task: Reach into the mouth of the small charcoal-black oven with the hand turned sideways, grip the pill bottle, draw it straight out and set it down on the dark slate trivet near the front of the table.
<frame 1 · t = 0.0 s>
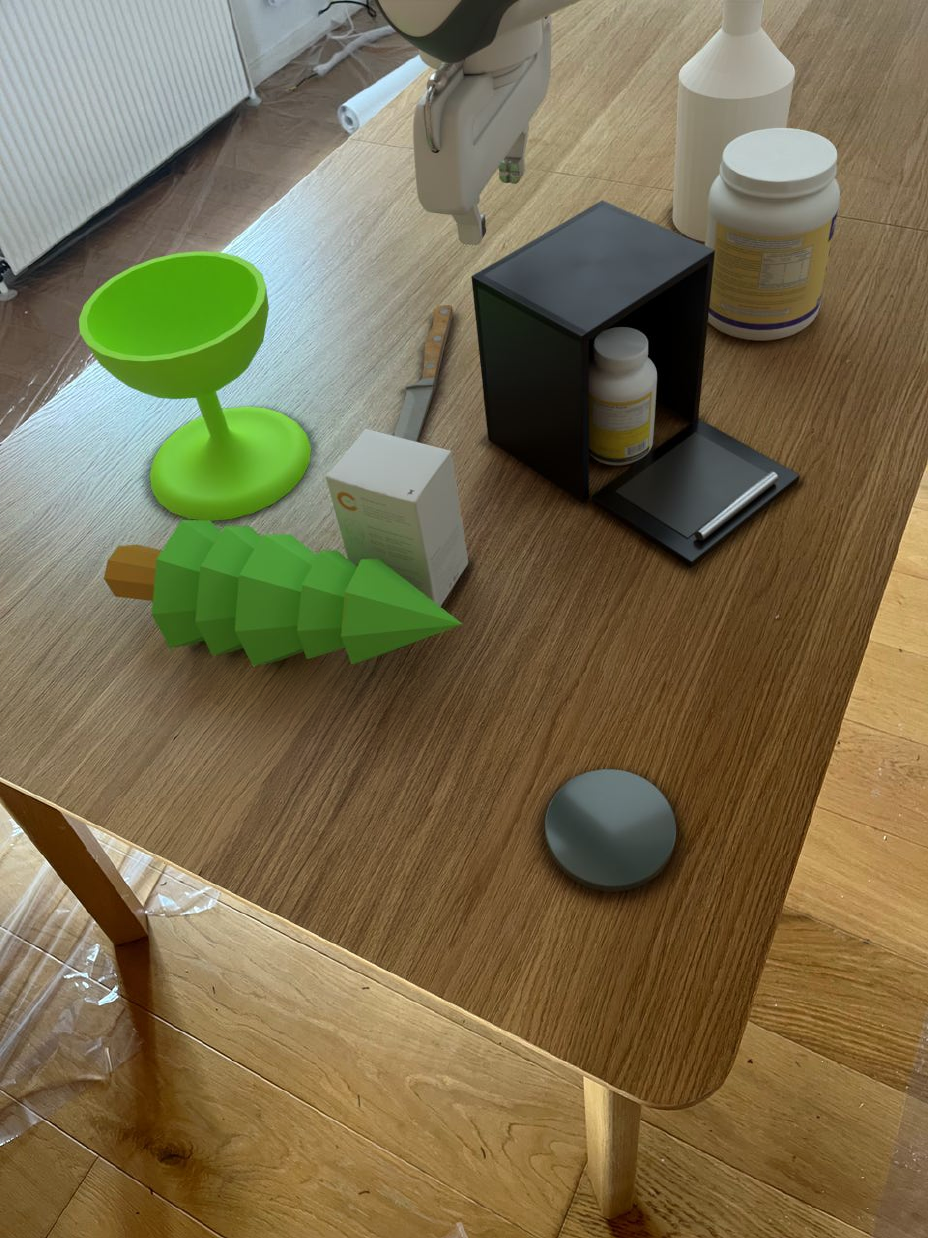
hand: (493, 208, 82), 23 cm above the table, tool pointing down, fingers open, 8 cm apart
supplement tub: (757, 312, 108), on the table
bottle: (721, 218, 120), on the table
decorative tree: (294, 646, 85), on the table
trivet: (609, 831, 71), on the table
oven: (595, 431, 98), on the table
knife: (417, 406, 103), on the table
pill bottle: (618, 447, 97), resting in oven
wineglass: (231, 464, 100), on the table
small box: (412, 577, 89), on the table
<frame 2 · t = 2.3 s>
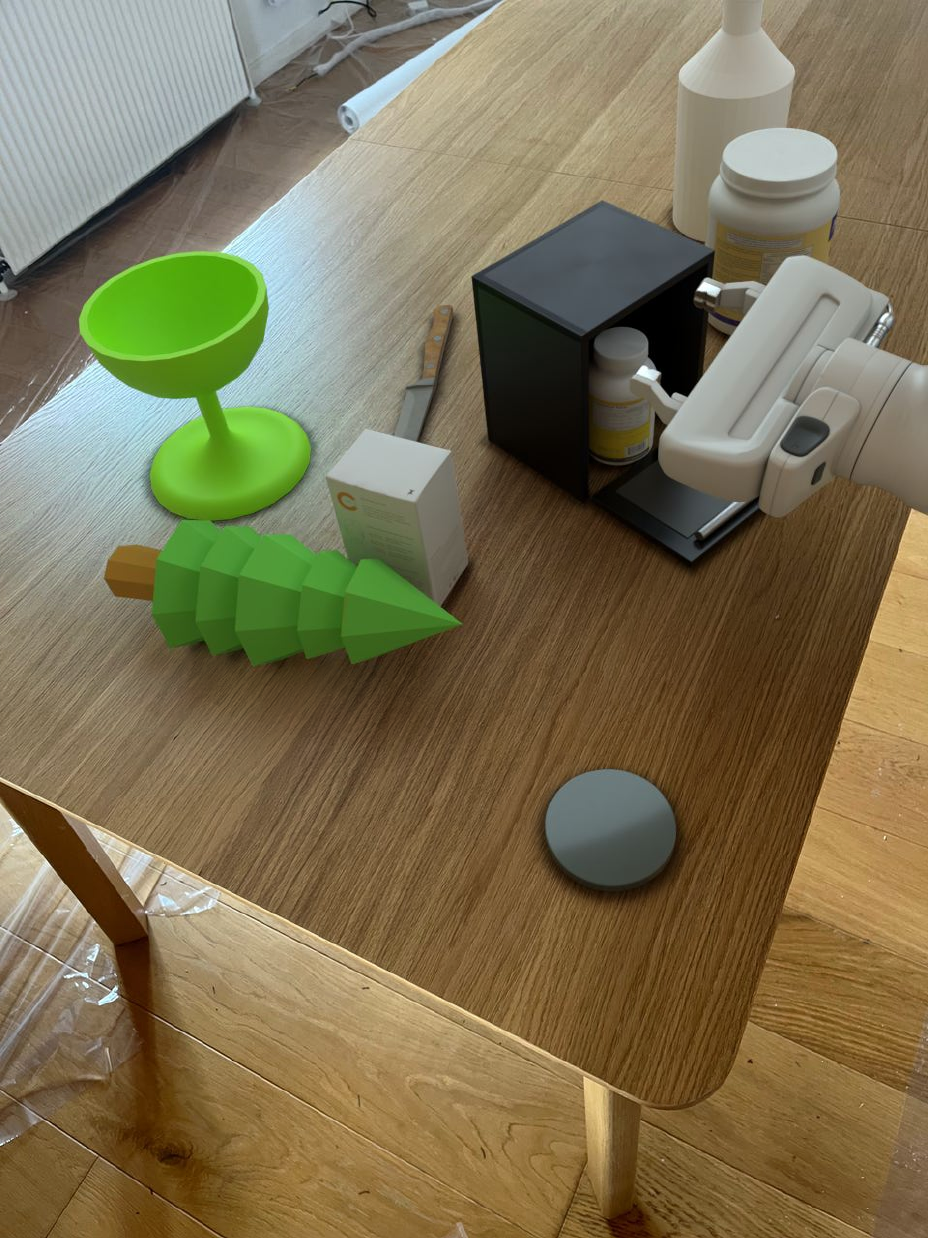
hand: (666, 333, 76), 18 cm above the table, tool horizontal, fingers open, 8 cm apart
nothing on the table moved.
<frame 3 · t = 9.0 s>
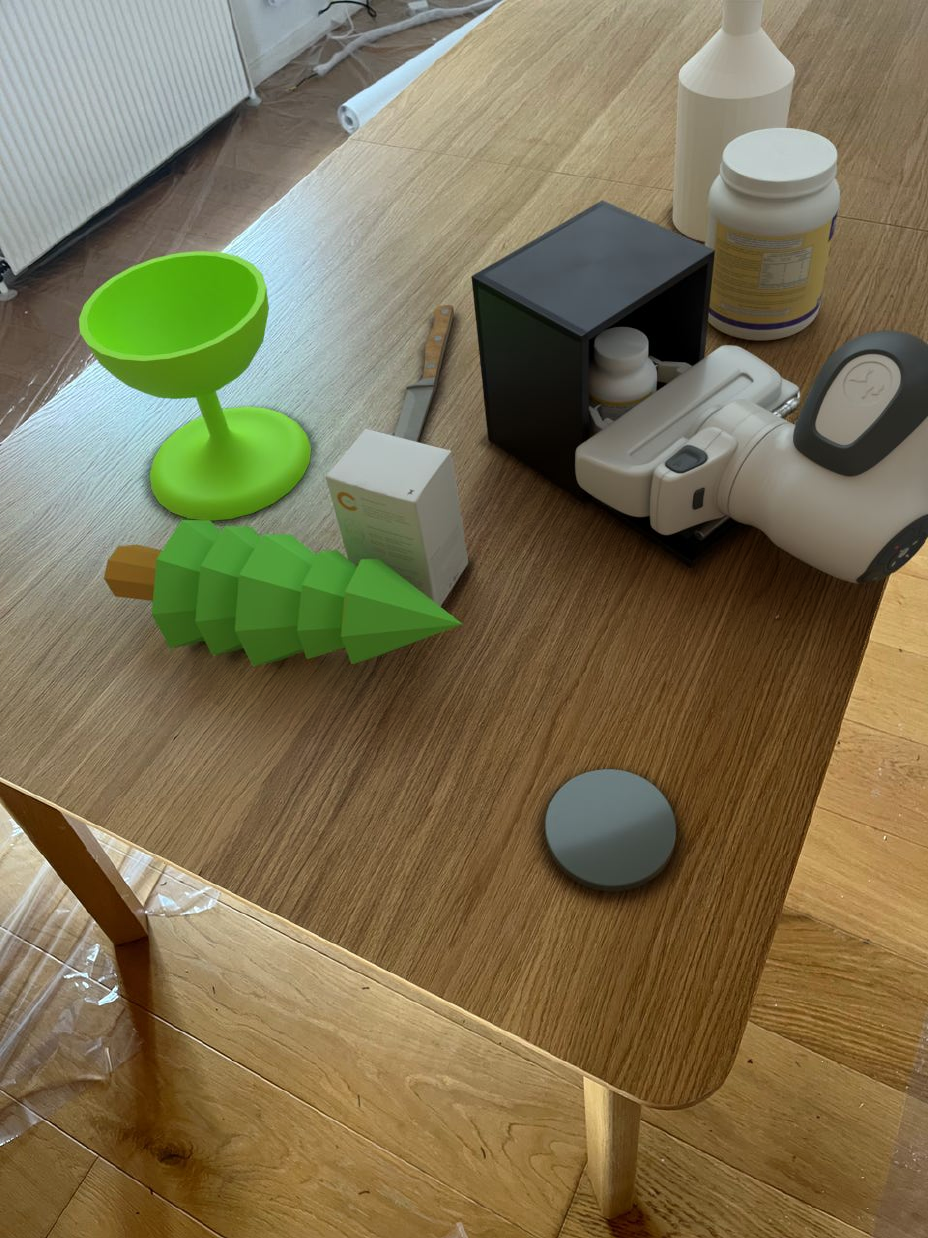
hand: (611, 386, 92), 7 cm above the table, tool horizontal, fingers closed on pill bottle, 6 cm apart
pill bottle: (618, 447, 97), resting in oven, touching gripper
everything else where it was.
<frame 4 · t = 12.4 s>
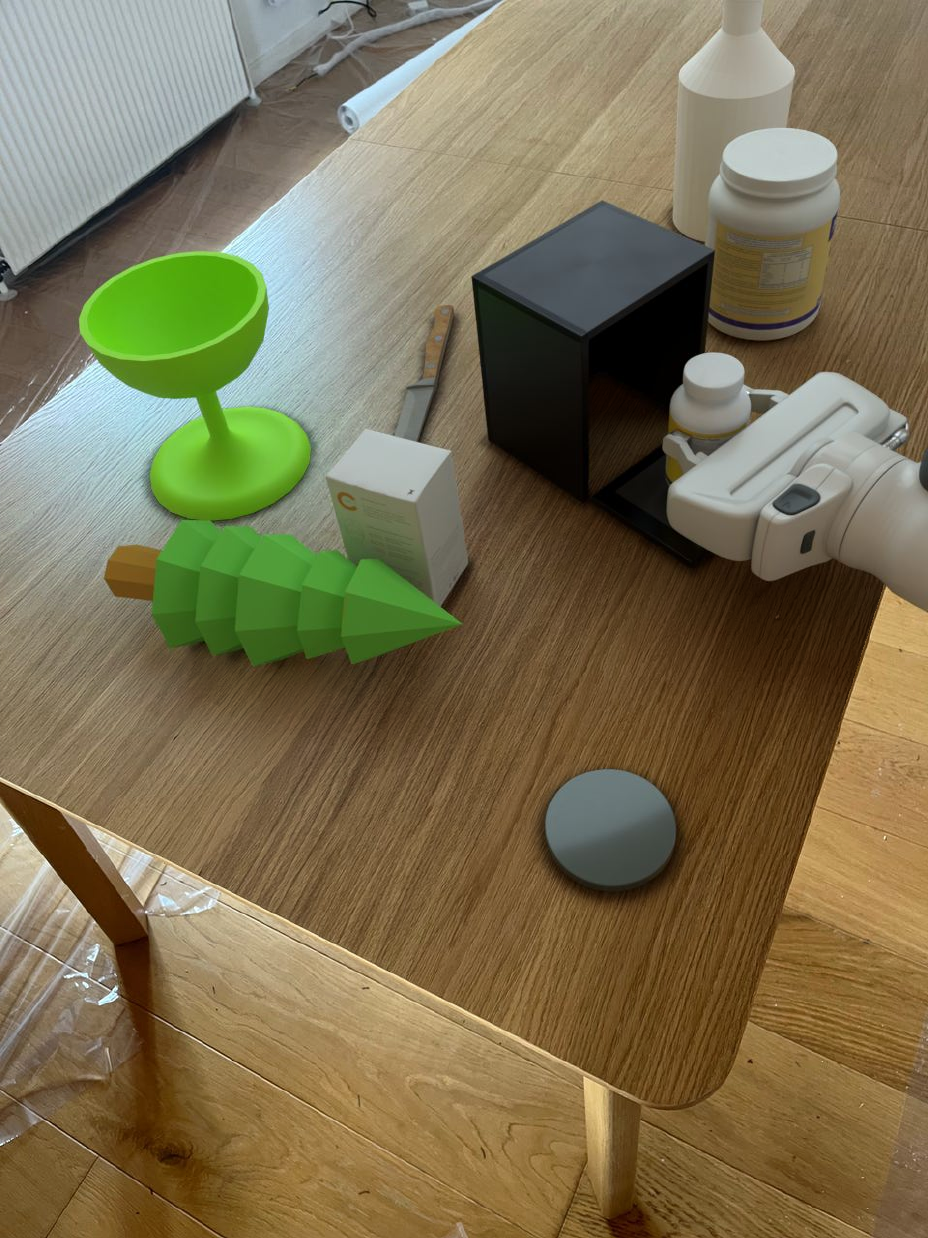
hand: (699, 416, 85), 9 cm above the table, tool horizontal, fingers closed on pill bottle, 6 cm apart
pill bottle: (702, 481, 89), point 2 cm above the table, touching gripper
everything else where it was.
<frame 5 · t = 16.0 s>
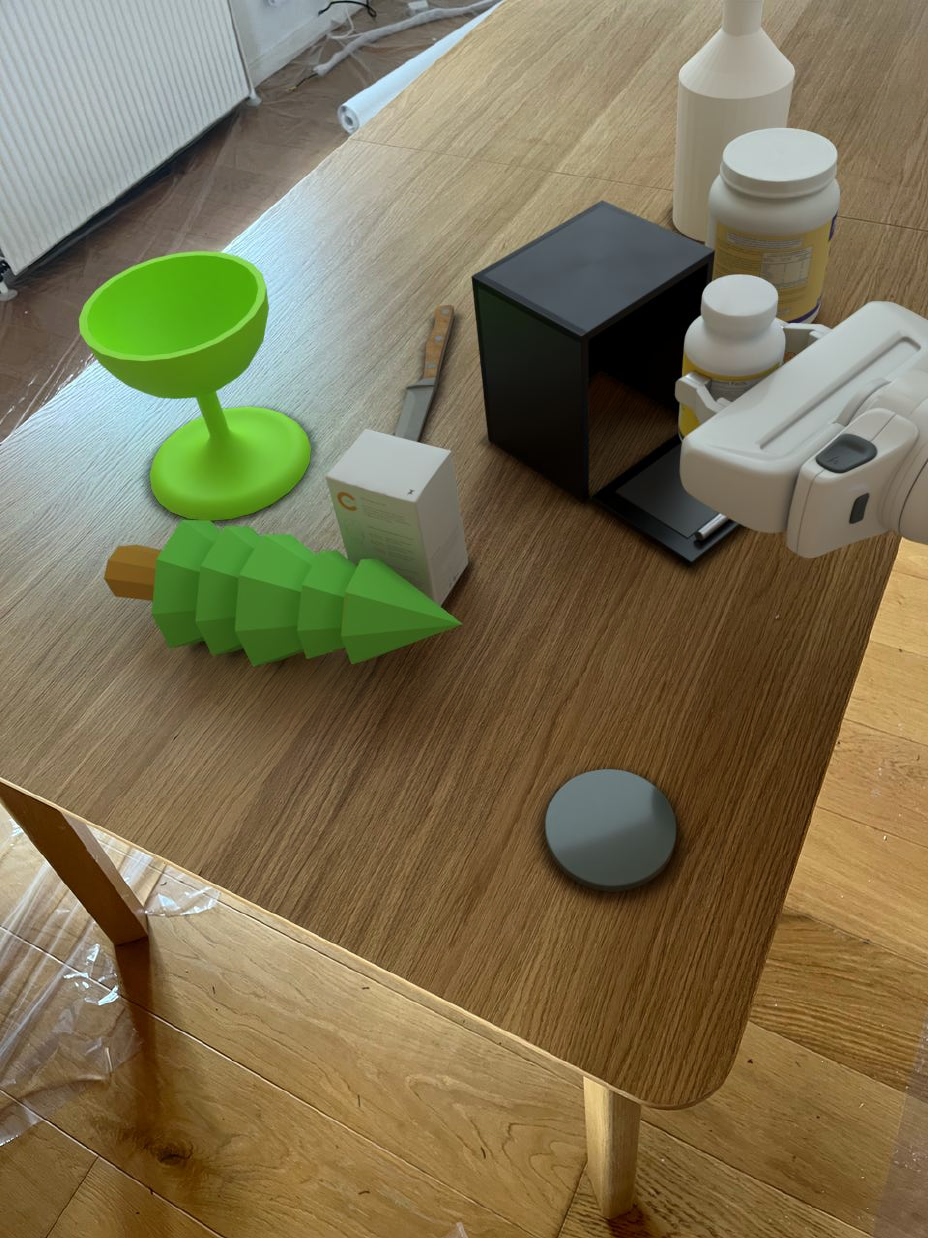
hand: (721, 356, 69), 22 cm above the table, tool horizontal, fingers closed on pill bottle, 6 cm apart
pill bottle: (722, 438, 73), point 15 cm above the table, touching gripper
everything else where it was.
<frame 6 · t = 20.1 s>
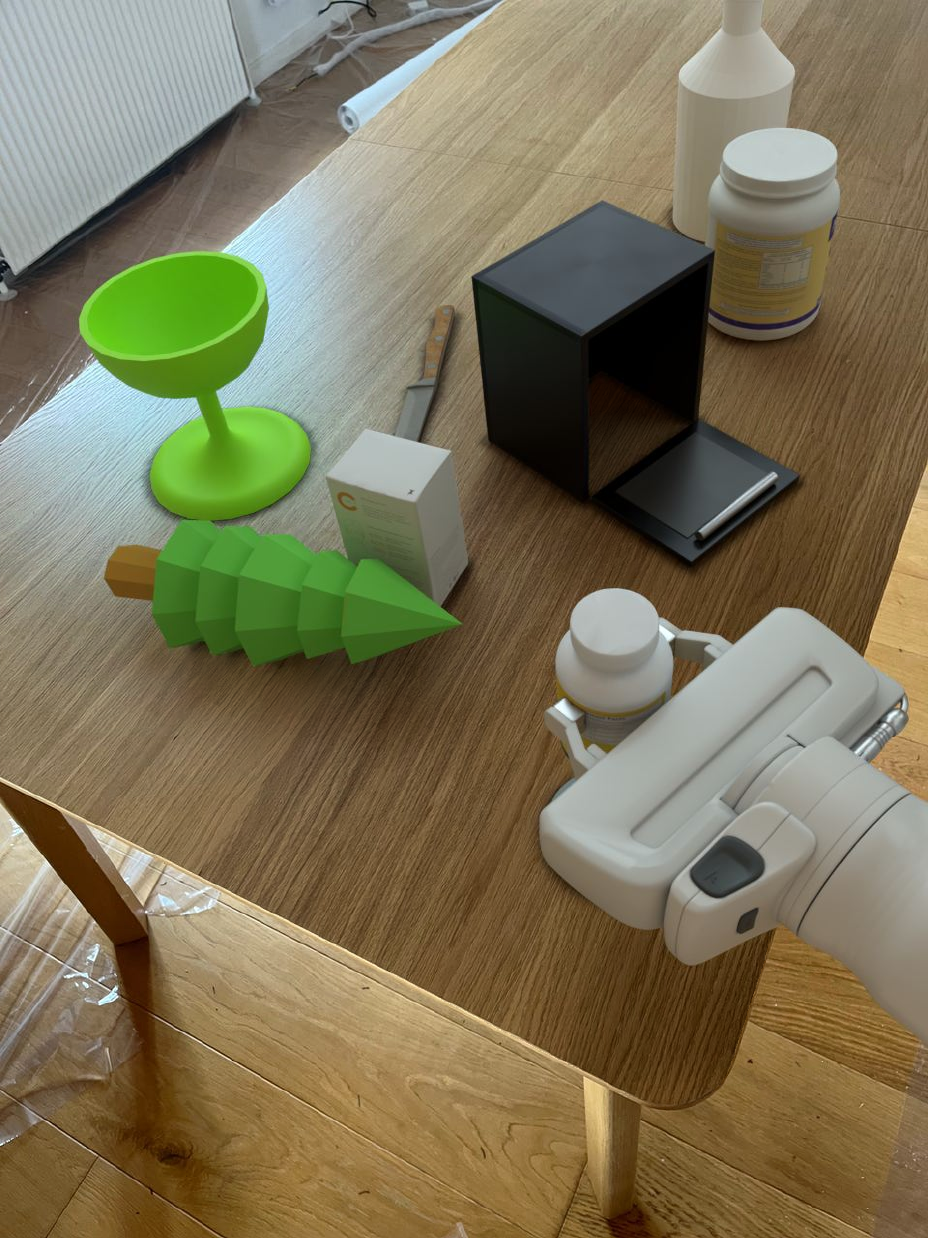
hand: (601, 670, 58), 18 cm above the table, tool horizontal, fingers closed on pill bottle, 6 cm apart
pill bottle: (612, 742, 63), point 11 cm above the table, touching gripper
everything else where it was.
when the fingers open (8 cm above the table, at t = 23.5 s): pill bottle stays where it is, resting on trivet.
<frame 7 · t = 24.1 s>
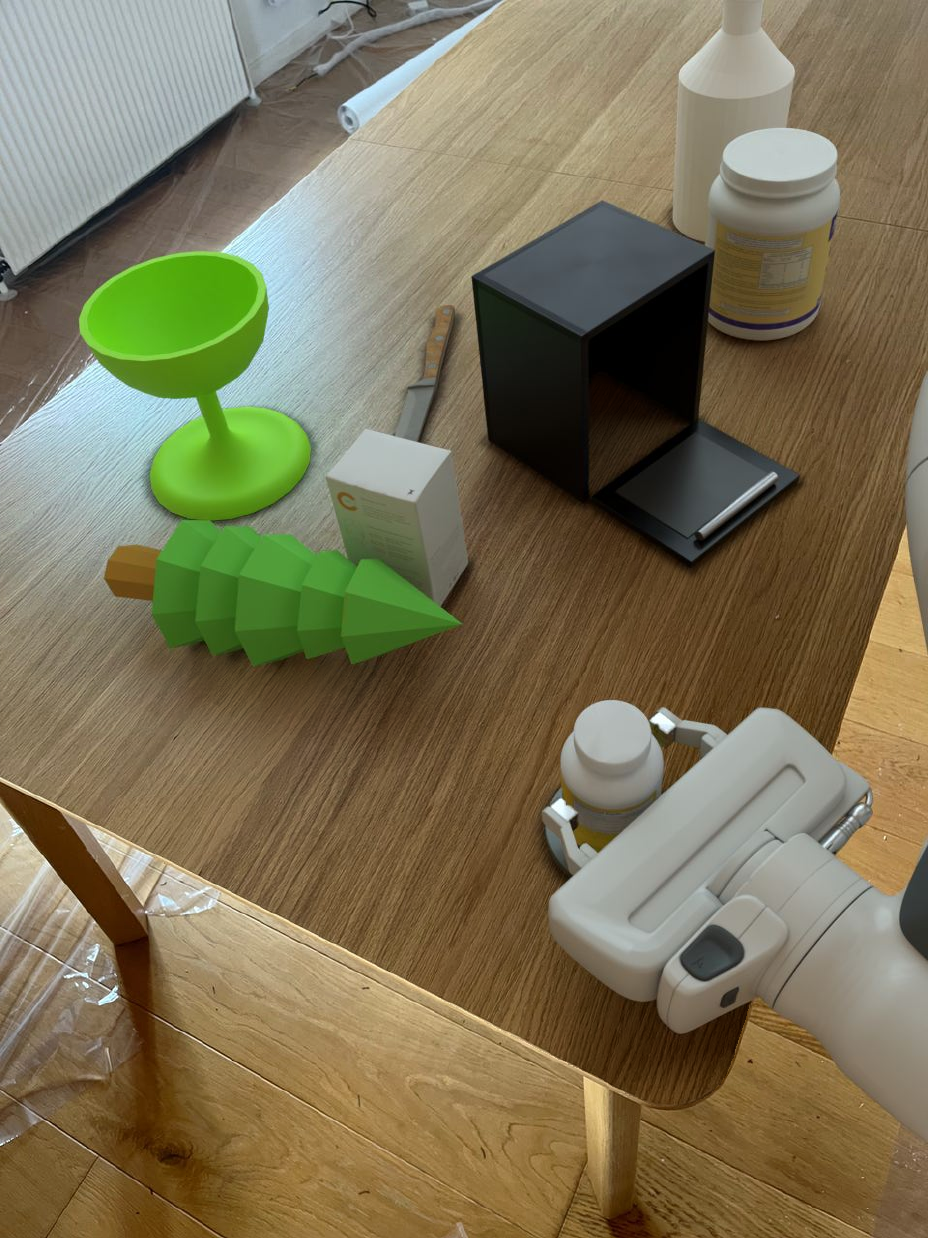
hand: (602, 762, 65), 8 cm above the table, tool horizontal, fingers open, 8 cm apart
pill bottle: (610, 824, 71), point 1 cm above the table, touching trivet
everything else where it was.
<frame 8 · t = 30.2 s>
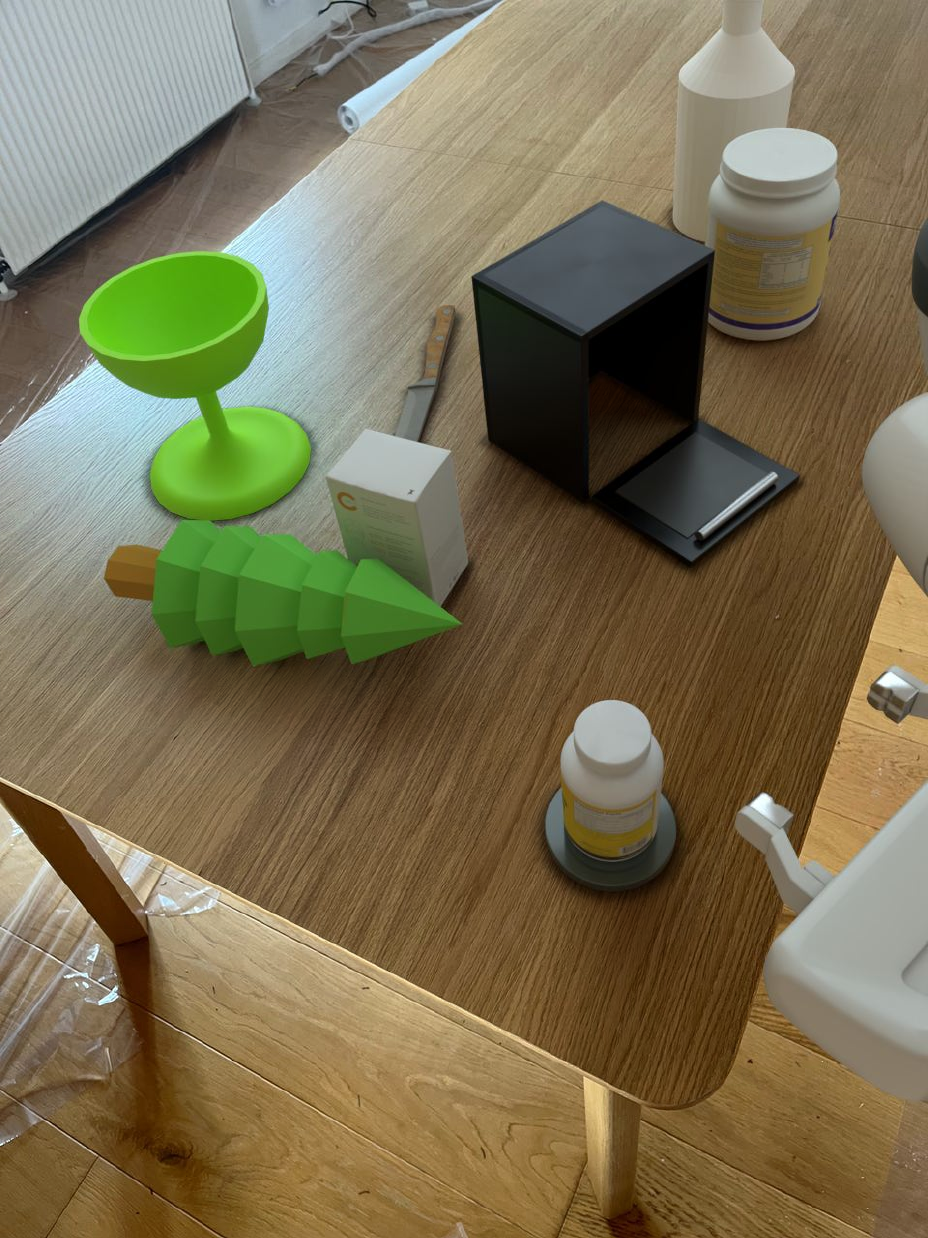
hand: (814, 742, 46), 25 cm above the table, tool horizontal, fingers open, 8 cm apart
nothing on the table moved.
at the end: pill bottle 0.1 cm off-centre on the trivet, point 0.8 cm above the trivet's base; pill bottle tilted 0°; the gripper is holding nothing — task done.
